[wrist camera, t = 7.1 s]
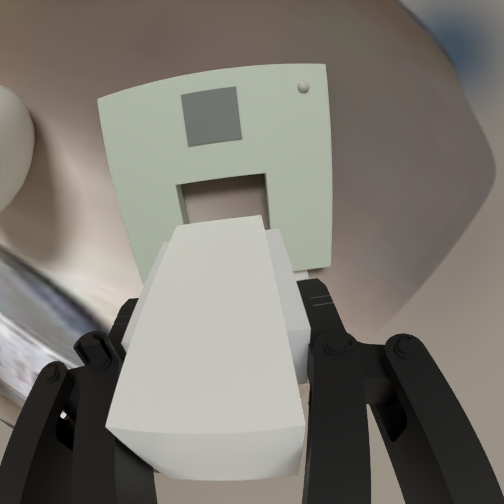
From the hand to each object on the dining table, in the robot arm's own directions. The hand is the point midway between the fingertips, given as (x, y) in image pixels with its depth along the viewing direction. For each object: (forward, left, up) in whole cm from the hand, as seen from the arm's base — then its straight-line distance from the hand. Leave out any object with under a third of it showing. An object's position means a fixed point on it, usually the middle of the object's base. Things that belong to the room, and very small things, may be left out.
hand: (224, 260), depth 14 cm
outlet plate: (0, +3, -7) cm, 7 cm away
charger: (0, 0, 0) cm, 0 cm away
